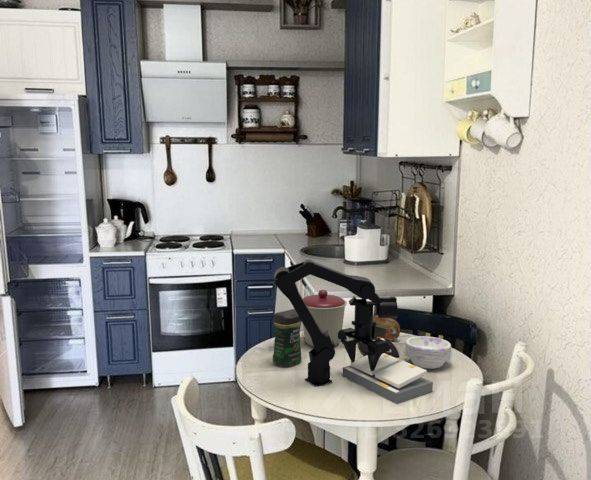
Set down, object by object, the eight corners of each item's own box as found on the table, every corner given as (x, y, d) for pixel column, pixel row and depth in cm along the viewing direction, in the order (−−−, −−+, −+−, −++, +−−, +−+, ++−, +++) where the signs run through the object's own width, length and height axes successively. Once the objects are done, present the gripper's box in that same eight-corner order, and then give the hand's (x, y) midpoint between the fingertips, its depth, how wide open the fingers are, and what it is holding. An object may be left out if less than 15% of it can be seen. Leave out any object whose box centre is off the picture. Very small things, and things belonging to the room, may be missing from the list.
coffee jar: (285, 369, 184) (285, 315, 181) (269, 363, 190) (269, 311, 187) (305, 362, 191) (305, 310, 188) (290, 356, 196) (290, 306, 194)
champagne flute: (288, 352, 200) (288, 288, 197) (271, 350, 203) (271, 286, 199) (295, 346, 206) (295, 284, 203) (279, 344, 209) (279, 282, 206)
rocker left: (371, 375, 170) (371, 371, 169) (350, 365, 178) (350, 361, 178) (399, 362, 176) (399, 359, 176) (378, 353, 184) (377, 350, 184)
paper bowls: (444, 356, 197) (445, 335, 195) (455, 372, 182) (456, 349, 180) (401, 356, 197) (402, 334, 196) (408, 372, 182) (409, 349, 181)
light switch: (402, 354, 194) (363, 351, 194) (401, 362, 195) (362, 359, 194) (391, 336, 214) (355, 333, 213) (390, 343, 214) (354, 340, 214)
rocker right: (398, 388, 160) (398, 384, 160) (375, 377, 168) (374, 373, 168) (427, 374, 167) (426, 370, 166) (403, 364, 175) (402, 360, 175)
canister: (289, 343, 210) (288, 289, 207) (322, 333, 222) (322, 282, 219) (322, 355, 197) (323, 298, 194) (356, 344, 209) (357, 290, 206)
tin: (366, 334, 222) (366, 314, 220) (371, 332, 224) (371, 312, 223) (396, 343, 211) (396, 322, 209) (401, 341, 213) (401, 320, 212)
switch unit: (396, 403, 158) (397, 390, 158) (342, 376, 178) (342, 364, 178) (432, 391, 167) (432, 378, 166) (376, 366, 187) (377, 355, 186)
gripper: (403, 321, 169) (402, 370, 171) (363, 308, 184) (362, 353, 186) (377, 327, 162) (375, 378, 165) (337, 313, 178) (336, 359, 180)
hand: (362, 366), depth 174 cm, fingers open, 9 cm apart
